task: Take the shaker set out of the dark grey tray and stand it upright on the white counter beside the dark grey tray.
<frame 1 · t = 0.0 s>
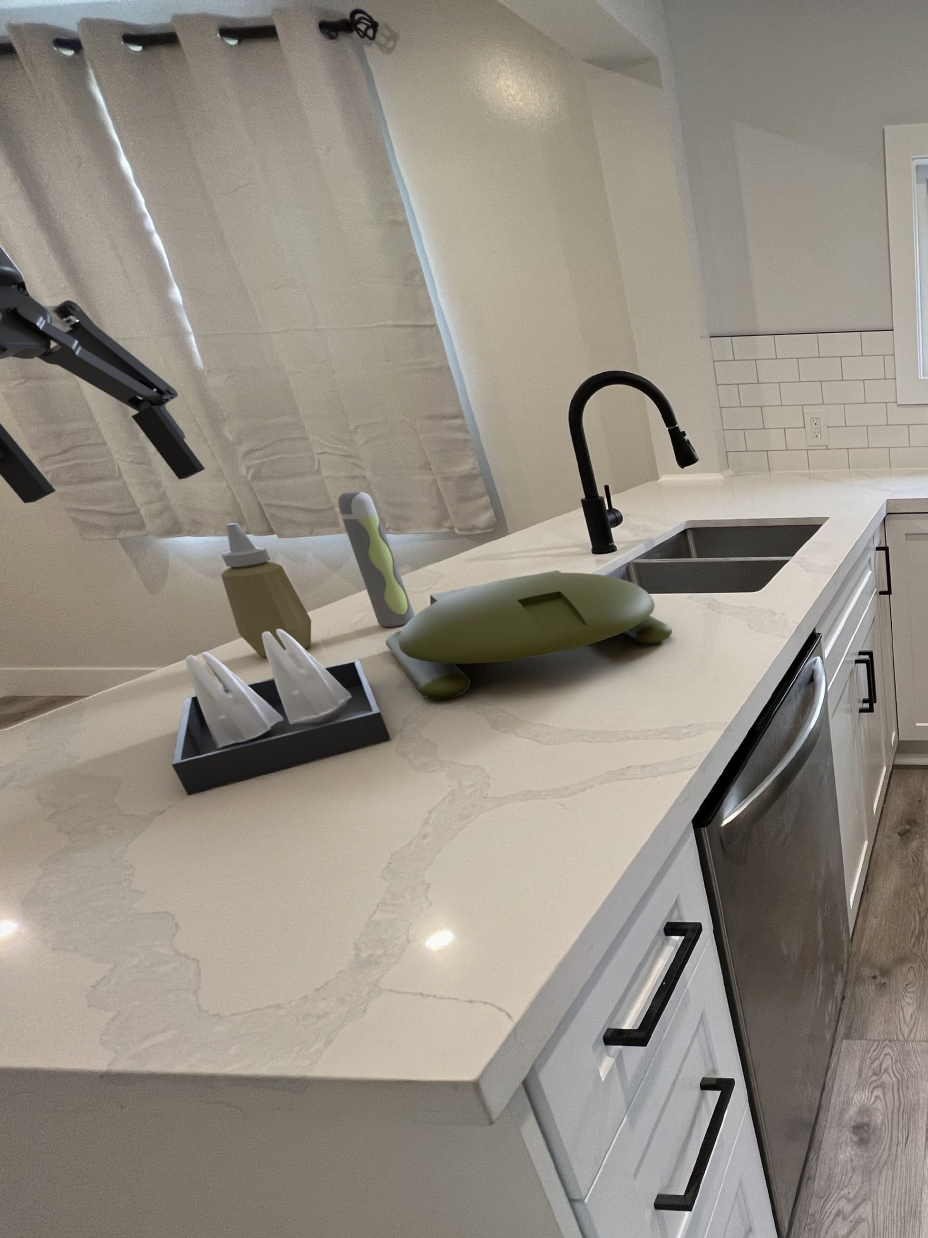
hand: (123, 485, 71), 27 cm above the counter, tool tilted 20°, fingers open, 13 cm apart
grey and green bar: (398, 624, 118), on the counter
dark grey tray: (291, 731, 83), on the counter
spaceship: (538, 651, 105), on the counter
squeeze bottle: (286, 651, 108), on the counter
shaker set: (291, 730, 83), resting on dark grey tray
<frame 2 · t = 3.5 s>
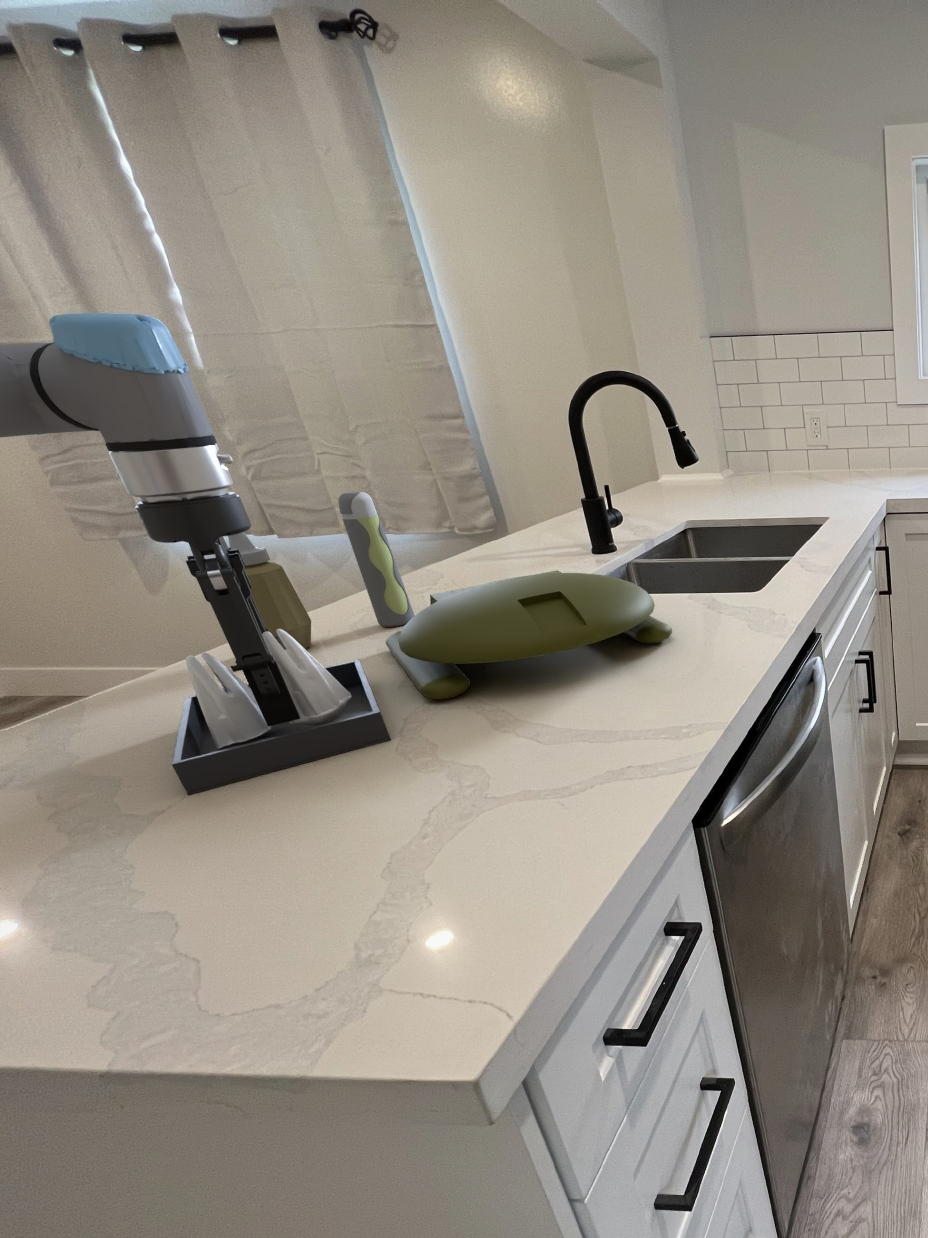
hand: (283, 713, 82), 2 cm above the counter, tool pointing down, fingers closed on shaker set, 5 cm apart
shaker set: (291, 730, 83), resting on dark grey tray, touching gripper
everything else where it was.
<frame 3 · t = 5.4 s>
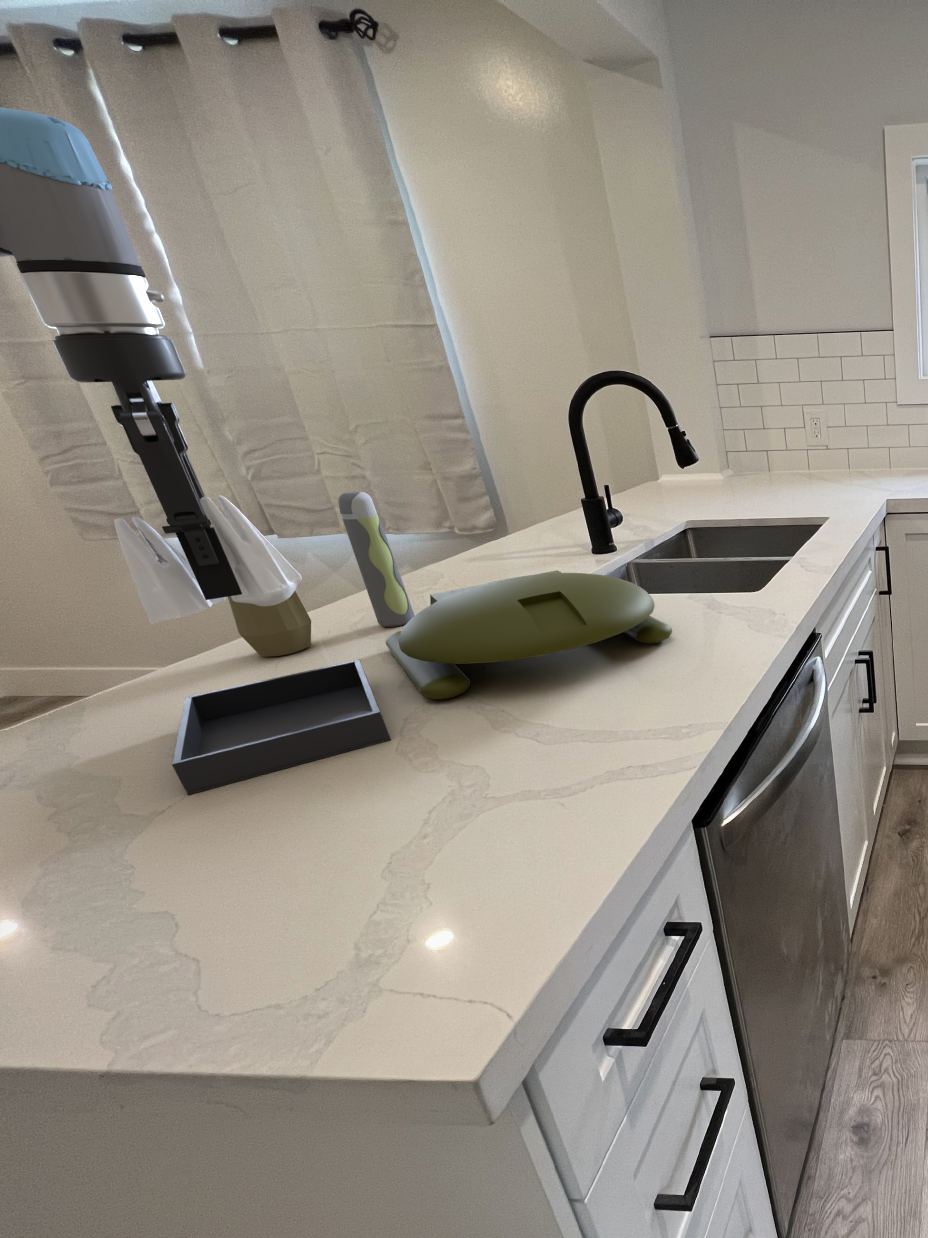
hand: (224, 590, 76), 16 cm above the counter, tool pointing down, fingers closed on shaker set, 5 cm apart
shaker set: (234, 611, 77), point 14 cm above the counter, touching gripper
everything else where it was.
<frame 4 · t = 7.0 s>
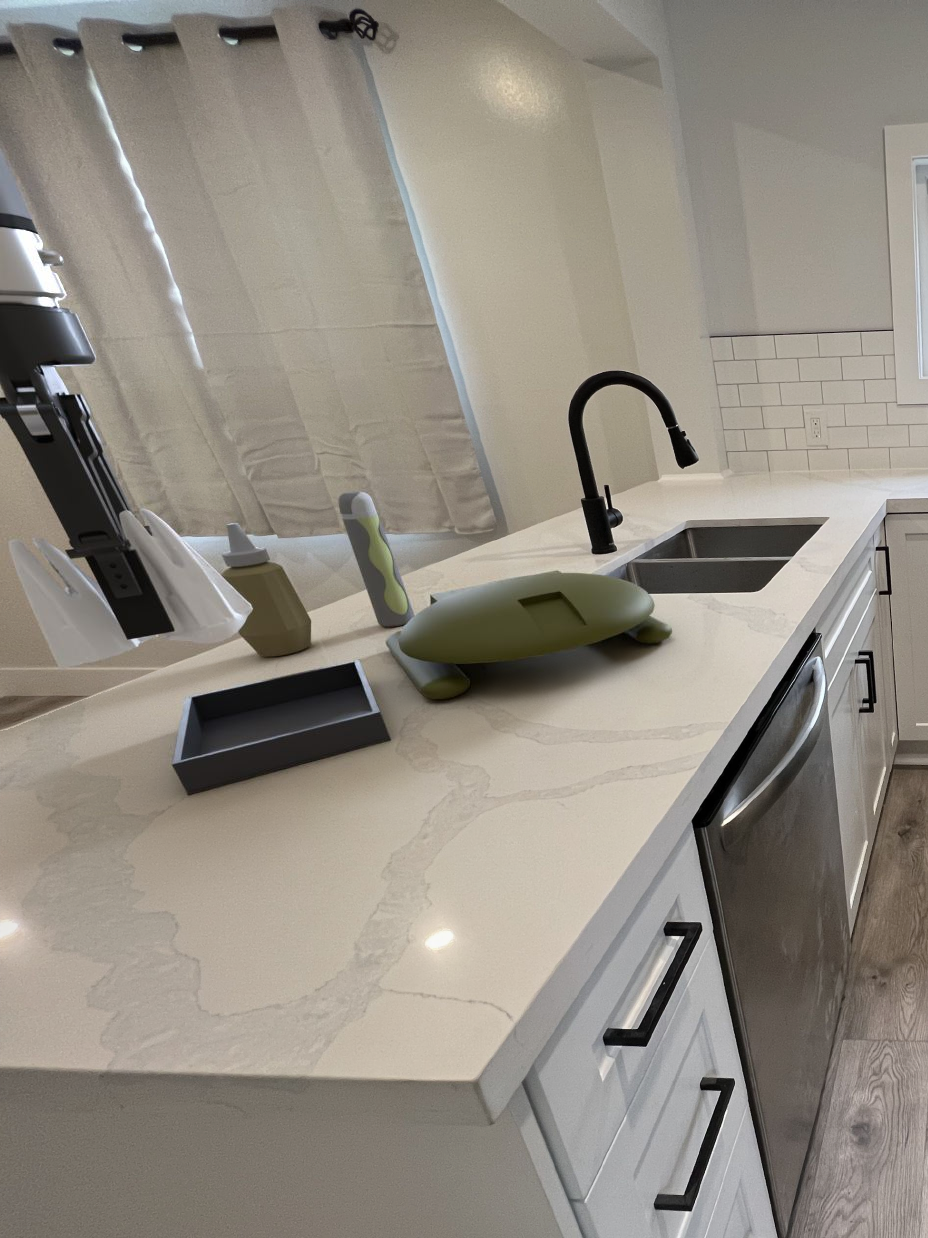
hand: (154, 626, 62), 17 cm above the counter, tool pointing down, fingers closed on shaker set, 5 cm apart
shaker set: (168, 650, 62), point 15 cm above the counter, touching gripper
everything else where it was.
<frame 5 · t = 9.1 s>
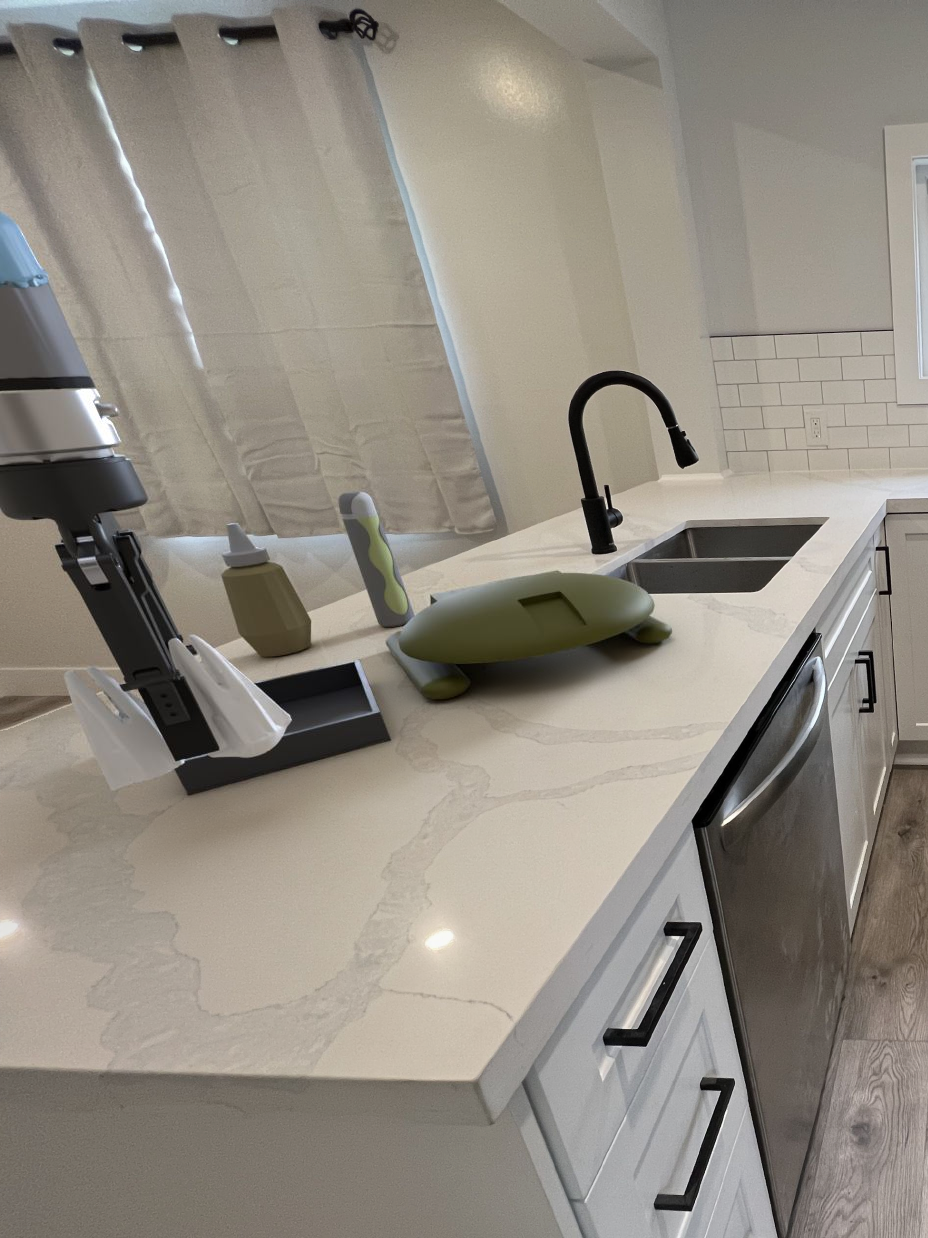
hand: (199, 742, 64), 7 cm above the counter, tool pointing down, fingers closed on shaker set, 5 cm apart
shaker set: (211, 764, 65), point 5 cm above the counter, touching gripper
everything else where it was.
when the fingers open (2 cm above the counter, at t = 10.7 s): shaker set stays where it is, on the counter.
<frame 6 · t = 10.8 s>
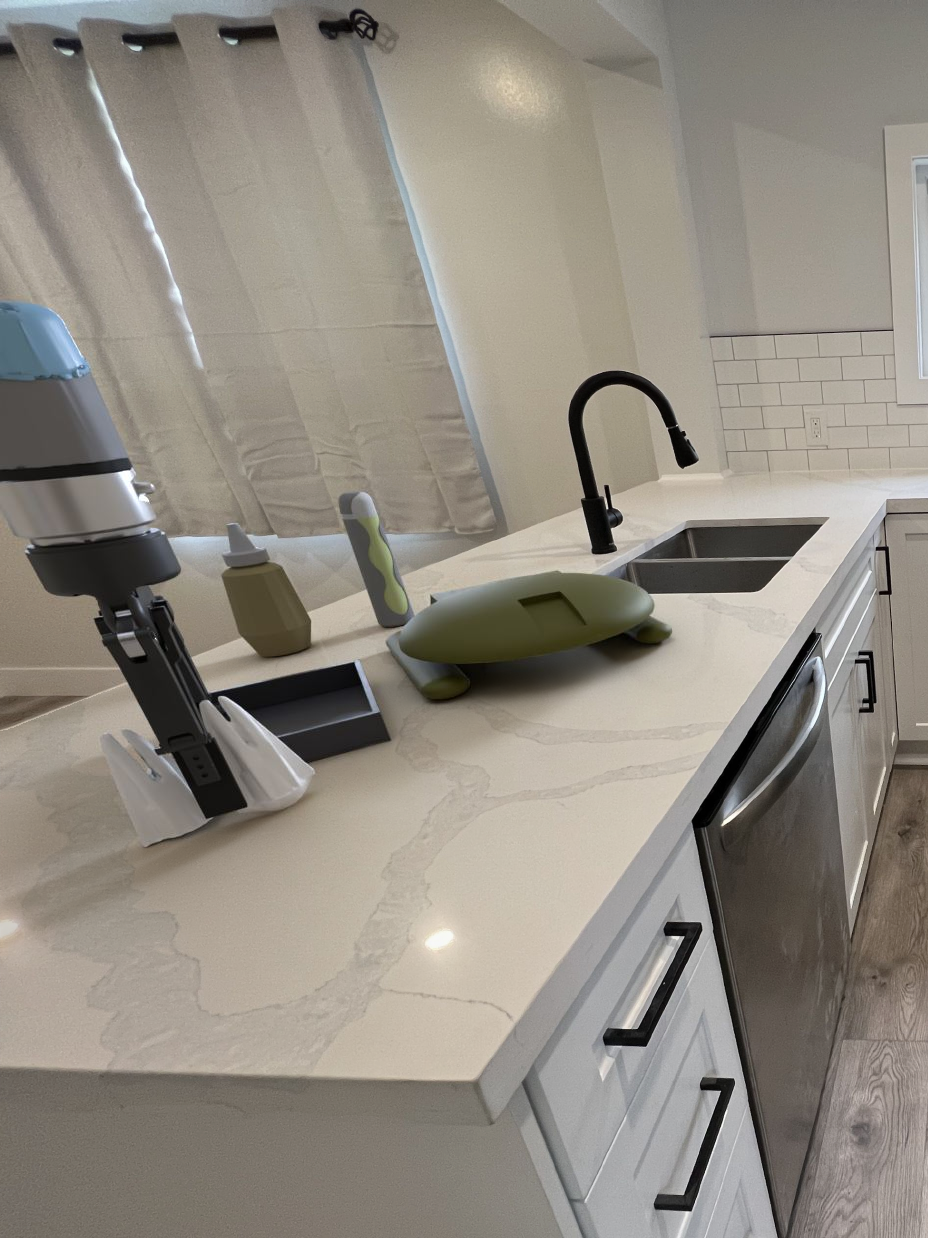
hand: (227, 798, 66), 2 cm above the counter, tool pointing down, fingers open, 5 cm apart
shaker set: (238, 818, 67), on the counter
everything else where it was.
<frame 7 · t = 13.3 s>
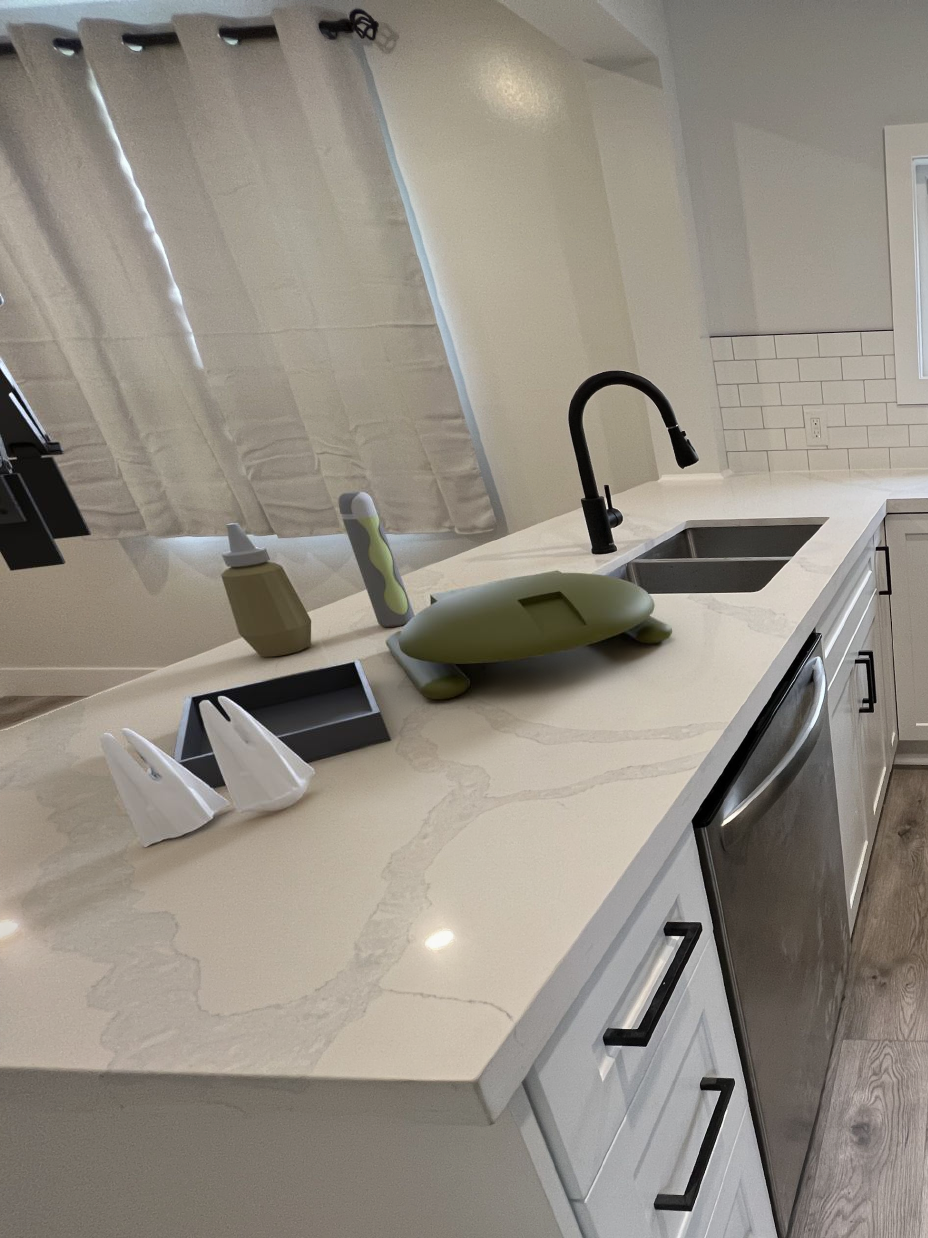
hand: (55, 551, 60), 23 cm above the counter, tool pointing down, fingers open, 13 cm apart
nothing on the counter moved.
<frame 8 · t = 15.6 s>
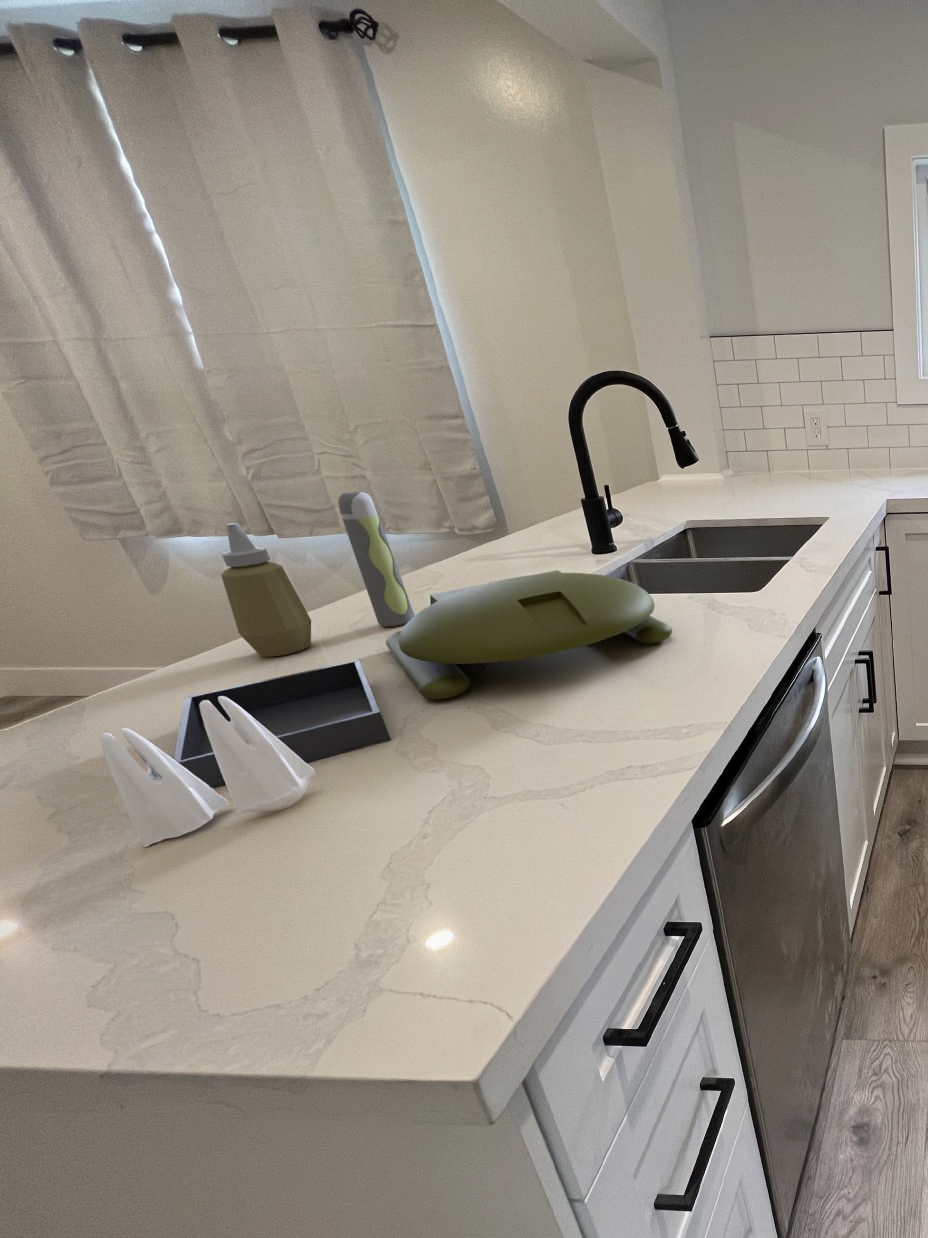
nothing on the counter moved.
at the end: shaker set inside the target area (0.1 cm from its centre), on the counter; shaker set tilted 0°; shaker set touching counter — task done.
